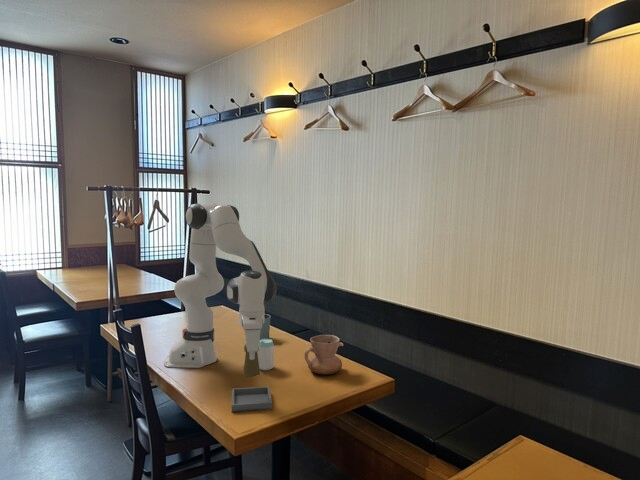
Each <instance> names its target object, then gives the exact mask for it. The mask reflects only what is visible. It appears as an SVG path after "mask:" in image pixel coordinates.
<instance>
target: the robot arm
mask: <svg viewBox="0 0 640 480" xmlns="http://www.w3.org/2000/svg"><path fill="white" fill-rule="evenodd" d="M185 221H186V225H187V226H188V227H189V228H191V233H190V242H189V257H188V259H189V261H190V263H191V264H193V265H194V267H195V274H191V275H187V276H184V277H182V278H180V279H179V280H177V281H176V282H175V284H174V288H173V289H174V294H175V296H176V298H177V300H179V301H181V303H182V304H183V306H184V308H185V312H186V318H187V319H186V323H187V327H184V328H183V329H182V338H181V339H179V340H178V341H177V342H175V343H174V344H173V345H172V346H171V348H170V350H169V355H167V356H166V357H164V360H163V366H164V367H166V368H189V369H197V368H198V369H200V368H203V367H204V366H207V365H211V364H213V363H215V362H216V361H217V359H218V358H217V354H216V349H215V328H214V311H213V310H212V309H211V308H210V307H208V305H207V301H206V298H209V297H212V296H215V295H217V294H219V293H220V292H221V291H222V290H223V289H224V286H225V279H224V278H223V276H222V275H221V273H220V272H219V271H218V267H217V263H216V262H217V261H216V258H217V257H216V255H217V248H218V249H219V250H220V251H221V252H223V253H226V254H228V255H233V256H237V257H240V258H242V259H244V260H246V261H247V262H248V264H249V266H250V268H251V270H244V271H242V272H241V273H240V275H239V276H237V277H234V278H231V279H230V280H229V281H228V283H227V284H226V286H225V287H226V289H225V291H226V293H225V294H226V299H227V300H228V302H230V303H232V304H235V305H239V308H238V323H239V324H240V325H241V327H242V330H243V331H244V337H245V344H246V347H247V351H248V352H249V359H250V360H254V359H255V352H257V351H258V349H259V341H260V330H261V329H262V325H263V323H264V317H265V316H264V314H266V313H265V309H266V308H265V304H264V303H270V301H272V300H273V299H274V298H275V297H276V294H277V291H278V287H277V283H276V281H275V279H274V278H273V277H272V275H271V273H270V272H269V270H268V268H267V265H266V264H265V262H264V260H263V258H262V256H261V254H260V251H259V249H258V248H257V245H256V244H255V243H254V241H252V240H251V239H249V238H248V237H247V236H246V234H244V232H243V230H242V228H241V225H240V212H239V210H238V208H237V207H236V206H234V205H231V204H223V203H222V204H221V203H192V204H190V205H189V206H188V207H187V209H186V212H185Z"/></svg>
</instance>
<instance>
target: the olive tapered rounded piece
mask: <svg viewBox="0 0 640 480" xmlns="http://www.w3.org/2000/svg"><path fill="white" fill-rule="evenodd" d="M243 346H244V347H243V349H244V353H245V355H244V364H243V370H242V371H243V373H242V375H243V376H244V377H248V378H252V377H253V378H255V377H257V376H260V374H261V370H260V369H259V361H258V353H257V352H258V351H259V349H258V351H257V352H255V359H254V360H250V359H249V352H248V351H247V347H246V343H245V345H243Z"/></svg>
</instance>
